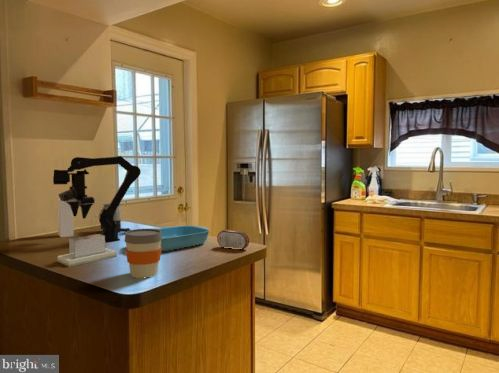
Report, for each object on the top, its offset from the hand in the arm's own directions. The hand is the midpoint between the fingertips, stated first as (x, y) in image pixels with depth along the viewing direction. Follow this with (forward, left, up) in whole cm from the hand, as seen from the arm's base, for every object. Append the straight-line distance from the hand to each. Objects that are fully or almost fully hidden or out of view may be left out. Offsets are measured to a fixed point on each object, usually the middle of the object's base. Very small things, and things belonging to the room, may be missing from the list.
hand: (79, 217), depth 178 cm
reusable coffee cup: (+7, +63, -12) cm, 65 cm away
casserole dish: (-26, +36, -12) cm, 46 cm away
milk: (-2, -20, -12) cm, 24 cm away
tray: (+11, +30, -12) cm, 34 cm away
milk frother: (-24, -9, -12) cm, 29 cm away
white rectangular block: (+11, +30, -11) cm, 34 cm away
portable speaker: (-40, +61, -12) cm, 74 cm away
